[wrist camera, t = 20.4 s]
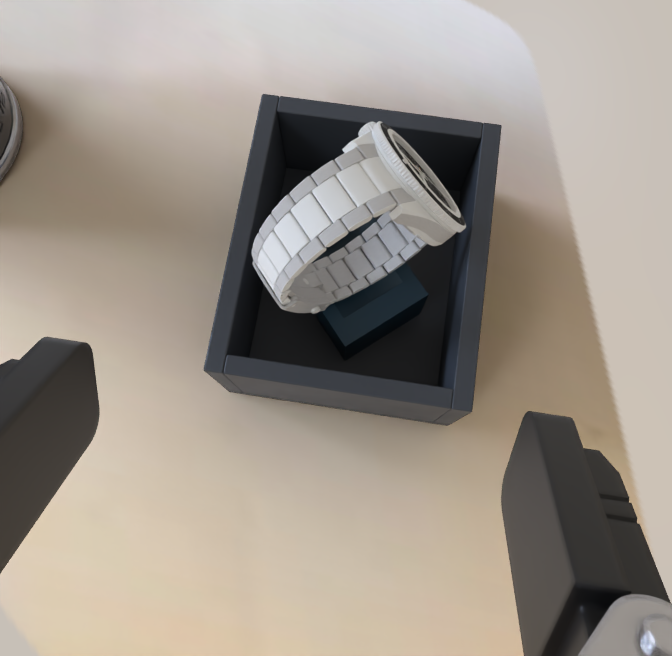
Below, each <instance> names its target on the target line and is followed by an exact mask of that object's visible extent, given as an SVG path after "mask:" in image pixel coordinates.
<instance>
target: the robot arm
mask: <svg viewBox="0 0 672 656" xmlns="http://www.w3.org/2000/svg"><path fill="white" fill-rule="evenodd" d="M22 131H23V122H22V114H21V109H20V106H19V103H18V101H17V99H16V97H15V95H14V93H13V92H12V90H11V89H10V88H9V86H8V85H7V84H6V83H5V81H4V80H3V79H2V78H1V77H0V181H1V180H2V179H3V177H4V176H5V175H6V173H7V172H8V171H9V169H10V167H11V166H12V164H13V162H14V160H15V158H16V156H17V153H18V150H19V147H20V144H21V139H22ZM98 421H99V401H98V393H97V385H96V376H95V368H94V360H93V353H92V349H91V347H90V345H89V344H88V343H84V342H78V341H71V340H65V339H58V338H51V337H44V338H42V339H41V340H40V341H38V342H37V343H36V344H35V345H34V346H33V347H32V348H31V349H30V350H29V351H28V352H27V353H26V354H25V355H24V356H23V357H22V358H21V359H20V360H15V359H11V360H9V361H7V362H5V363H3V364H1V365H0V573H1V572H2V570H3V569H4V567H5V566H6V564H7V563H8V562H9V560H10V559H11V557H12V556H13V554H14V553H15V551H16V550H17V549H18V547H19V546H20V544H21V543H22V541H23V540H24V538H25V537H26V535H27V534H28V533H29V531H30V530H31V528H32V527H33V525H34V524H35V522H36V521H37V520H38V518H39V517H40V515H41V514H42V512H43V511H44V509H45V508H46V506H47V505H48V504H49V502H50V501H51V499H52V498H53V496H54V495H55V493H56V492H57V491H58V489H59V488H60V486H61V485H62V483H63V482H64V480H65V479H66V477H67V476H68V475H69V473H70V472H71V470H72V469H73V467H74V466H75V464H76V463H77V462H78V460H79V459H80V457H81V456H82V454H83V453H84V451H85V450H86V448H87V447H88V446H89V444H90V443H91V441H92V439H93V437H94V435H95V432H96V429H97V426H98ZM501 505H502V514H503V520H504V527H505V533H506V540H507V546H508V553H509V560H510V566H511V573H512V579H513V586H514V593H515V599H516V606H517V612H518V619H519V625H520V632H521V639H522V645H523V652H524V656H672V604H671V603H670V600H669V598H668V595H667V593H666V590H665V588H664V585H663V582H662V580H661V577H660V575H659V572H658V570H657V567H656V565H655V562H654V560H653V557H652V555H651V552H650V550H649V547H648V544H647V542H646V539H645V537H644V534H643V532H642V529H641V527H640V524H637V517H636V514H635V512H634V509H633V506H632V504H631V503H629V496H628V494H627V491H626V489H625V486H624V484H623V481H622V479H621V476H620V474H619V472H618V471H617V470H616V469H615V468H614V467H613V466H612V465H611V463H610V462H609V461H608V460H607V459H606V458H605V457H604V456H603V454H602V453H601V452H600V451H598V450H591V449H585V448H583V446H582V443H581V440H580V437H579V434H578V431H577V429H576V426H575V423H574V421H573V419H572V418H571V417H565V416H558V415H551V414H545V413H538V412H532V411H528V412H527V413H526V414H525V415H524V417H523V420H522V422H521V425H520V428H519V432H518V435H517V438H516V441H515V444H514V447H513V450H512V453H511V456H510V459H509V462H508V465H507V468H506V471H505V474H504V479H503V484H502V494H501Z"/></svg>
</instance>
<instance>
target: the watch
mask: <svg viewBox="0 0 672 656" xmlns="http://www.w3.org/2000/svg"><path fill="white" fill-rule="evenodd" d="M358 136H359V137H358V138H356V139H354V140H352V141H351V142H349V143H348V144H347V145H346V146H345V147H344V148H343V149H342V150H343V152H344V154H342V155H341V156H339V157H337V158H336V159H335V162H334V161H333V160H332V161H330V162H328V163H327V164H325V165H324V166H322V167H321V168H319V169H318V170H317V171H315V172H314V173H313V174H312V175H311V177H312V178H313V180H314V181H315V182H314V181H313V180H312V178H311V177H310V176H308V177H307V178H305V179H304V180H303V181H302V182H301V183H300V184H298V185H297V186H296V187H295V188H294V189H293V190H292V191H291V192H290V195H286V196H285V197H284V198H283V199H282V200H281V201H280V202H279V204H278V205H277V206H276V207H275V208H274V209H273V211H272V214H270V215H269V216H268V218H267V219H266V220H265V222H264V223H263V225H262V227H261V228H260V230H259V233H258V234H257V236H256V238H255V240H254V243H253V248H252V257H253V263H252V264H253V266H254V268H255V270H256V272H257V273H258V275H259V277H260V278H261V280H262V282H263V283H264V285H265V286H266V288H267V289H268V291H269V292H270V294H271V295H272V297H273V298H274V300H275V301H276V303H277V304H278V305H279V307H280V308H281V309H283V310H286V311H290V312H295V313H312V314H315V316H316V317H317V319H318V321H319V322H320V324H321V325H322V327H323V328H324V330H325V331H326V333H327V334H328V336H329V337H330V339H331V340H332V342H333V344H334V345H335V347H336V348H337V350H338V351H339V353H340V354H341V356H342V357H343V359H344V360H345V361H346V360H348V359H349V358H351V357H352V356H354V355H355V354H357V353H359V352H360V351H362V350H363V349H365V348H367V347H368V346H370V345H371V344H373V343H375V342H376V341H378V340H379V339H381V338H383V337H384V336H386V335H387V334H389V333H391V332H392V331H394V330H395V329H397V328H399V327H400V326H402V325H403V324H405V323H406V322H408V321H410V320H411V319H413V318H414V317H416V316H418V315H419V314H420V313H421V311H422V308H423V306H424V304H425V302H426V299H427V297H428V295H429V294H428V293H427V291H426V290H425V289H424V287H423V286H422V284H421V283H420V282H419V280H418V279H417V277H416V276H415V274H414V273H413V272H412V270H411V269H410V267H409V266H408V265H407V263H406V262H405V261H408V260H409V259H410V258H412V257H413V256H414V255H415V254H417V253H418V252H419V251H420V250H421V248H423V247H424V246H425V245H427V244H429V245H431V246H438V245H441V244H443V243H444V242H445V241H447V240H448V239H449V238H450V237H452V236H453V235H454V234H455V233H456V232H461V231H463V230H464V229H465V228H466V224H465V221H464V218H463V216H462V214H461V212H460V210H459V209H458V207H457V205H456V204H455V202H454V200H453V199H452V197H451V196H450V194H449V193H448V191H447V190H446V189H445V187H444V186H443V184H442V183H441V182H440V180H439V179H438V178H437V176H436V175H435V174H434V173H433V171H432V170H431V169H430V168H429V166H428V165H427V164H426V163H425V162H424V160H423V159H422V158H421V157H420V156H419V155H418V154H417V153H416V151H415V150H414V149H413V148H412V147H411V146H410V145H409V144H408V143H407V142H406V141H405V140H404V139H403V138H402V137H401V136H400V135H399V134H398V133H396V132H395V131H394V130H393V129H392V128H391V127H389V126H388V125H387V124H385V123H383V122H381V121H378V122H377V123H375V122H373V121H372V122H369V123H367V124H365V125H364V126H363V127H362V128H361V129H360V131H359V133H358ZM315 183H316V184H317V185H318V187H317V185H316V184H315ZM313 195H314V196H315V197H316V199H317V200H318V202H319V203H320V205H321V206H322V208H323V209H324V211H325V212H326V214H327V215H328V216H327V215H326V214H325V212H324V211H323V209H322V208H321V206H320V205H319V203H318V202H317V200H316V199H315V198H314V196H313ZM383 213H384V214H383ZM381 214H383V215H382V216H381V217H380V218H379V219H378V220H377V221H376V219H375V218H374V217H377V216H379V215H381ZM381 227H382V228H381ZM400 254H401V255H400Z"/></svg>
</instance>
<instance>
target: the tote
mask: <svg viewBox="0 0 672 656" xmlns="http://www.w3.org/2000/svg"><path fill="white" fill-rule="evenodd" d="M372 121H373V122H375V123H377V122H378V121H381V122H383V123H385V124H387V125H388V126H389V127H391V128H392V129H393V130H394V131H395V132H396V133H398V134H399V135H400V136H401V137H402V138H403V139H404V140H405V141H406V142H407V143H408V144H409V145H410V146H411V147H412V148H413V149H414V150H415V151H416V153H417V154H418V155H419V156H420V157H421V158H422V159H423V160H424V162H425V163H426V164H427V165H428V166H429V168H430V169H431V170H432V171H433V173H434V174H435V175H436V176H437V178H438V179H439V180H440V182H441V183H442V184H443V186H444V187H445V189H446V190H447V191H448V193H449V194H450V196H451V197H452V199H453V200H454V202H455V204H456V205H457V207H458V209H459V210H460V212H461V214H462V216H463V218H464V221H465V224H466V228H465V229H464V230H463V231H461V232H456V233H455V234H454V235H453V236H452V237H450V238H449V239H448V240H447V241H445V242H444V243H443V244H441V245H438V246H431V245H429V244H427V245H425V246H424V247H423V248H421V250H420V251H419V252H418V253H417V254H415V255H414V256H413V257H412V258H410V259H409V260H408V261H405V262H406V263H407V265H408V266H409V267H410V269H411V270H412V272H413V273H414V274H415V276H416V277H417V279H418V280H419V282H420V283H421V284H422V286H423V287H424V289H425V290H426V291H427V293H428V294H429V295H428V297H427V299H426V302H425V304H424V306H423V308H422V311H421V313H420V314H419V315H418V316H416V317H414V318H413V319H411V320H410V321H408V322H406V323H405V324H403V325H402V326H400V327H399V328H397V329H395V330H394V331H392V332H391V333H389V334H387V335H386V336H384V337H383V338H381V339H379V340H378V341H376V342H375V343H373V344H371V345H370V346H368V347H367V348H365V349H363V350H362V351H360V352H359V353H357V354H355V355H354V356H352V357H351V358H349V359H348V360H346V361H345V360H344V359H343V357H342V356H341V354H340V353H339V351H338V350H337V348H336V347H335V345H334V344H333V342H332V340H331V339H330V337H329V336H328V334H327V333H326V331H325V330H324V328H323V327H322V325H321V324H320V322H319V321H318V319H317V317H316V316H315V314H312V313H295V312H290V311H286V310H283V309H281V308H280V307H279V305H278V304H277V303H276V301H275V300H274V298H273V297H272V295H271V294H270V292H269V291H268V289H267V288H266V286H265V285H264V283H263V282H262V280H261V278H260V277H259V275H258V273H257V272H256V270H255V268H254V266H253V264H252V263H253V257H252V248H253V243H254V240H255V238H256V236H257V234H258V233H259V230H260V228H261V227H262V225H263V223H264V222H265V220H266V219H267V218H268V216H269V215H270V214H272V211H273V209H274V208H275V207H276V206H277V205H278V204H279V202H280V201H281V200H282V199H283V198H284V197H285V196H286V195H290V192H291V191H292V190H293V189H294V188H295V187H296V186H297V185H298V184H300V183H301V182H302V181H303V180H304V179H305V178H307V177H308V176H310V177H311V175H312V174H313V173H314V172H315V171H317V170H318V169H319V168H321V167H322V166H324V165H325V164H327V163H328V162H330V161H332V160H333V161H334V162H335V159H336V158H337V157H339V156H341V155H342V154H344V152H343V150H342V149H343V148H344V147H345V146H346V145H347V144H348V143H349V142H351V141H352V140H354V139H356V138H358V137H359V136H358V133H359V131H360V129H361V128H362V127H363V126H364V125H365V124H367V123H369V122H372ZM500 135H501V125H497V124H489V123H481V122H473V121H466V120H458V119H450V118H443V117H435V116H428V115H420V114H412V113H405V112H397V111H390V110H382V109H374V108H367V107H359V106H352V105H344V104H337V103H329V102H321V101H314V100H306V99H299V98H291V97H283V96H280V98H279V96H274V95H267V94H263V95H262V97H261V102H260V107H259V111H258V116H257V121H256V126H255V130H254V135H253V140H252V144H251V149H250V154H249V158H248V163H247V168H246V172H245V177H244V182H243V187H242V191H241V196H240V201H239V205H238V210H237V215H236V219H235V224H234V229H233V233H232V238H231V243H230V248H229V252H228V257H227V262H226V266H225V271H224V276H223V280H222V285H221V290H220V295H219V299H218V304H217V309H216V313H215V318H214V323H213V327H212V332H211V337H210V341H209V346H208V351H207V356H206V360H205V365H204V371H205V372H206V373H208V374H209V375H210V376H211V377H212V378H214V379H215V380H216V381H217V382H218V383H220V384H221V385H222V386H223V387H224V388H226V389H227V390H228V391H229V392H235V393H241V394H248V395H254V396H260V397H267V398H273V399H280V400H286V401H292V402H299V403H305V404H312V405H318V406H325V407H331V408H337V409H344V410H350V411H357V412H363V413H369V414H376V415H382V416H389V417H395V418H401V419H408V420H414V421H421V422H427V423H433V424H440V425H446V426H447V425H449V424H452V423H453V422H455V421H457V420H458V419H460V418H462V417H464V416H465V415H467V414H469V413H471V412H472V407H473V398H474V388H475V378H476V369H477V359H478V349H479V339H480V330H481V320H482V310H483V300H484V291H485V281H486V271H487V262H488V252H489V242H490V232H491V223H492V213H493V203H494V193H495V184H496V174H497V164H498V154H499V145H500ZM311 178H312V177H311ZM312 180H313V178H312ZM313 181H314V180H313ZM314 182H315V181H314ZM315 184H316V183H315ZM316 185H317V184H316ZM317 187H318V185H317ZM313 196H314V195H313ZM314 198H315V199H316V197H315V196H314ZM316 200H317V199H316ZM317 202H318V200H317ZM318 203H319V202H318ZM319 205H320V203H319ZM320 206H321V205H320ZM321 208H322V206H321ZM322 209H323V208H322ZM323 211H324V209H323ZM324 212H325V211H324ZM325 214H326V212H325ZM383 214H384V213H383ZM383 214H381V215H379V216H377V217H374V218H375V219H376V221H377V220H378V219H379V218H380V217H381V216H382V215H383ZM326 215H327V214H326ZM327 216H328V215H327ZM381 228H382V227H381ZM400 255H401V254H400Z"/></svg>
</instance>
